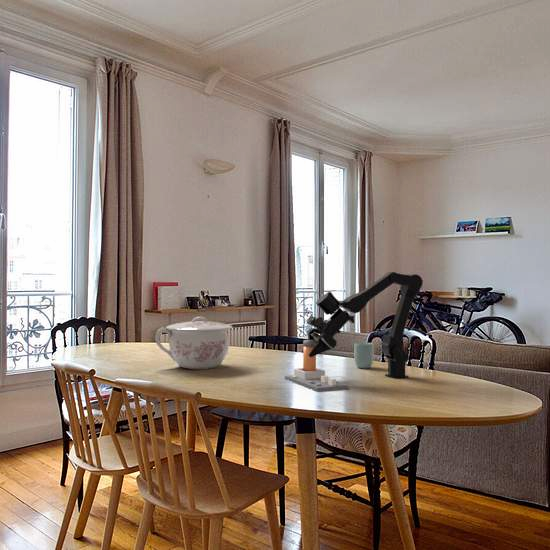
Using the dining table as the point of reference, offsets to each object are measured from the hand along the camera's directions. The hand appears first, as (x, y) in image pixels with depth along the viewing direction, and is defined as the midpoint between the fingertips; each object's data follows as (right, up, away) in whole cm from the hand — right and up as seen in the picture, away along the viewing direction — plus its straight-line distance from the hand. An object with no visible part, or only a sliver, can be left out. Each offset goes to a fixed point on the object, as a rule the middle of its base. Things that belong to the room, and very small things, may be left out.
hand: (305, 354), depth 202 cm
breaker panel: (+3, -9, -7) cm, 12 cm away
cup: (+25, -10, +28) cm, 39 cm away
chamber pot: (-43, -9, +27) cm, 52 cm away
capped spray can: (+1, -8, 0) cm, 8 cm away
